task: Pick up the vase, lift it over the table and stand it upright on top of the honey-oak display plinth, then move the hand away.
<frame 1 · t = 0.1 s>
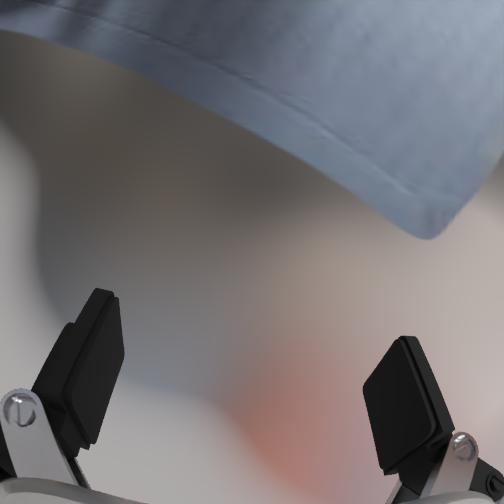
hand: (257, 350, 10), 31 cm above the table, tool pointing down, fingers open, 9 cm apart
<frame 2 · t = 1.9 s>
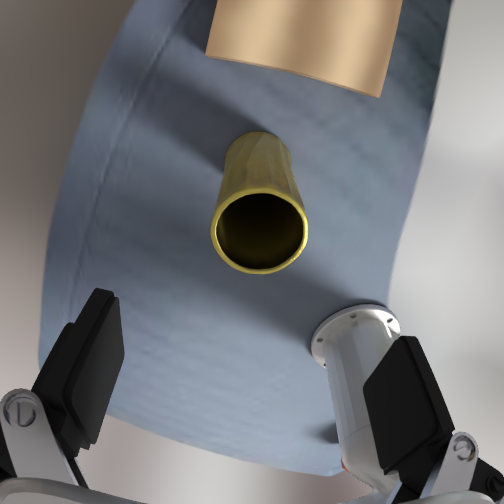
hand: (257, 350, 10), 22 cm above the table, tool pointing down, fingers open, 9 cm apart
plinth: (307, 5, 21), on the table
vase: (258, 162, 29), on the table
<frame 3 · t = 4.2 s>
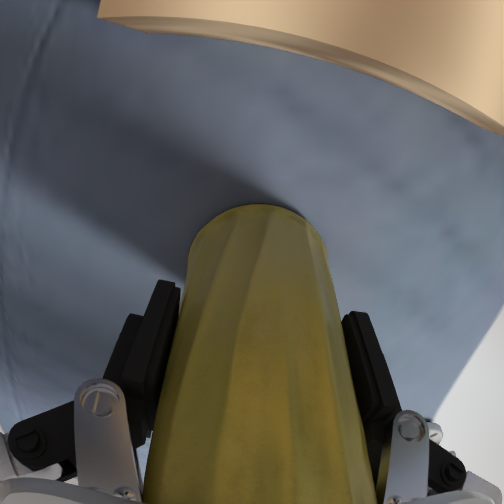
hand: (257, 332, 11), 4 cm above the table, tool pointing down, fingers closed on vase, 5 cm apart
vase: (258, 264, 14), on the table, touching gripper
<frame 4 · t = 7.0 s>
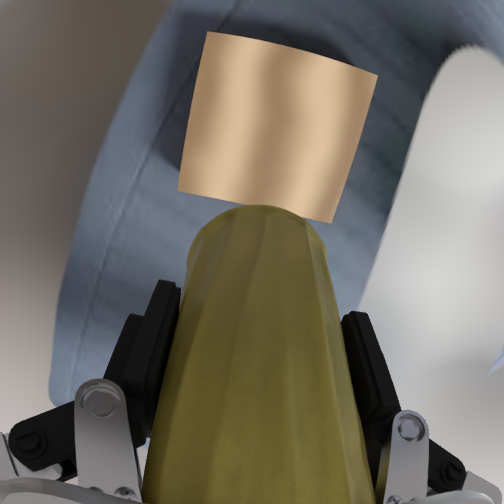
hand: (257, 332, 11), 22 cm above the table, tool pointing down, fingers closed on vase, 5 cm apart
plinth: (272, 123, 27), on the table
vase: (257, 264, 14), point 18 cm above the table, touching gripper
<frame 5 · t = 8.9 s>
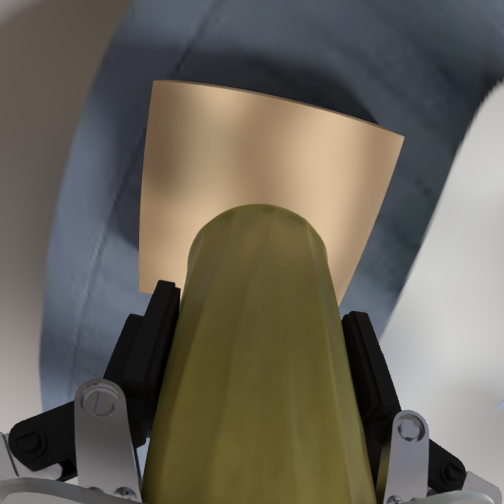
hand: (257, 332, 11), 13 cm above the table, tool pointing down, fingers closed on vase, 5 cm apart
plinth: (257, 195, 22), on the table
vase: (258, 264, 14), point 9 cm above the table, touching gripper
when the fingers open (9 cm above the table, at t = 10.1 s): vase stays where it is, resting on plinth.
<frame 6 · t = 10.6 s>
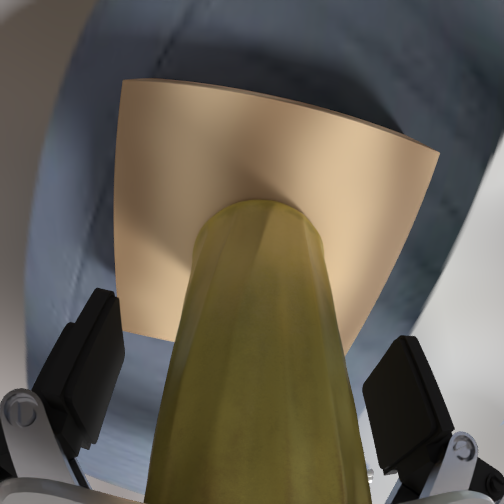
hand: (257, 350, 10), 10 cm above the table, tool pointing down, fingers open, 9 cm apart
plinth: (256, 218, 18), on the table
vase: (258, 256, 15), point 4 cm above the table, touching plinth
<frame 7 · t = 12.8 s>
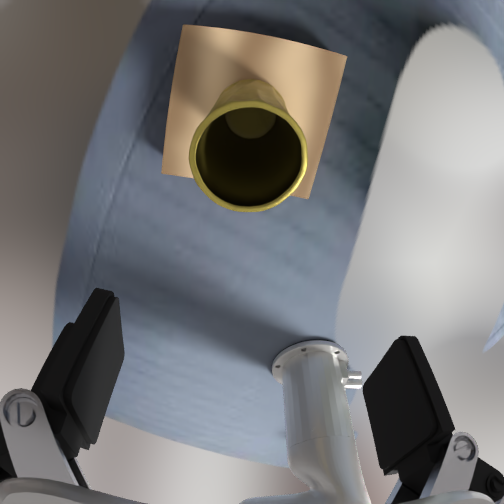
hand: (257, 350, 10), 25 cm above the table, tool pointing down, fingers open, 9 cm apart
plinth: (250, 106, 28), on the table
vase: (250, 113, 25), point 4 cm above the table, touching plinth
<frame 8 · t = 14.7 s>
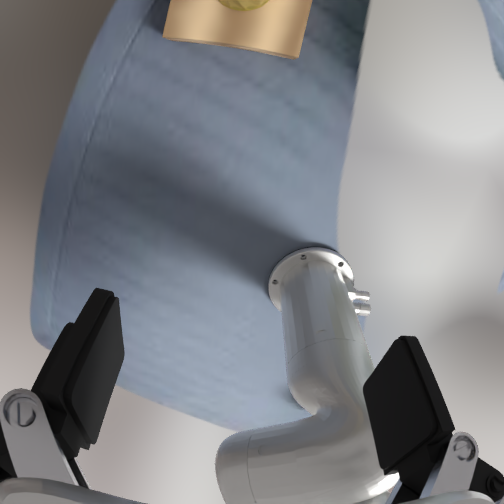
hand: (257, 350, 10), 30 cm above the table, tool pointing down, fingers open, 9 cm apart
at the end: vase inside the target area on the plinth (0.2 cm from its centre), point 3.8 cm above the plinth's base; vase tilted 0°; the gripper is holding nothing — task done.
